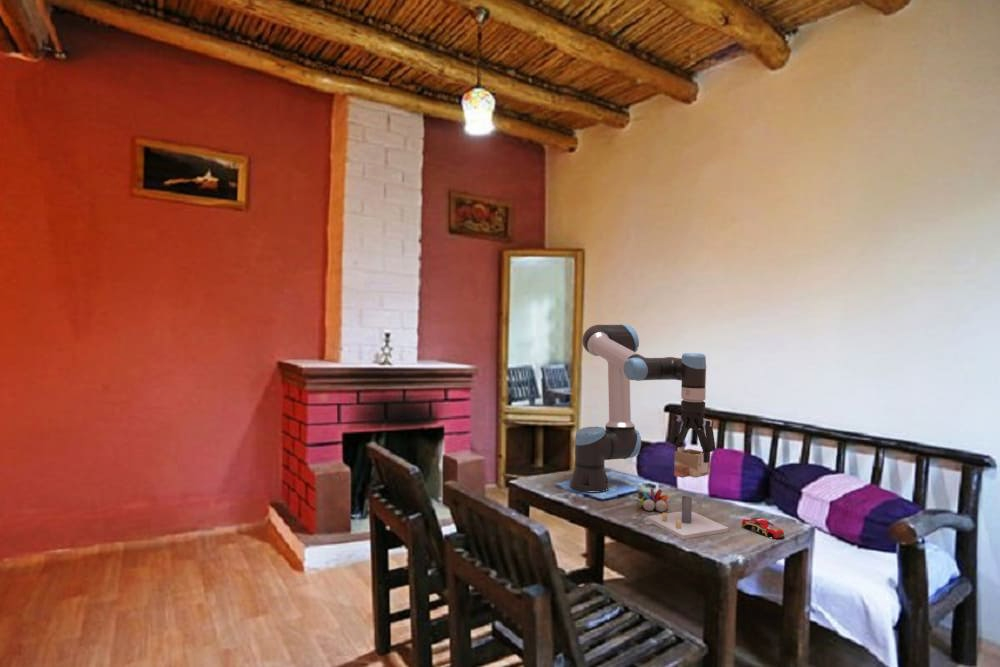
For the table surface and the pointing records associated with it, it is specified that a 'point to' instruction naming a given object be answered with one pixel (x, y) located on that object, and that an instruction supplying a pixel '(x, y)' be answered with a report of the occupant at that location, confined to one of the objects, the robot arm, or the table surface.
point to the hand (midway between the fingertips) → (692, 469)
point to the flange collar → (689, 464)
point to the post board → (688, 528)
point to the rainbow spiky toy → (654, 501)
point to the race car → (762, 527)
